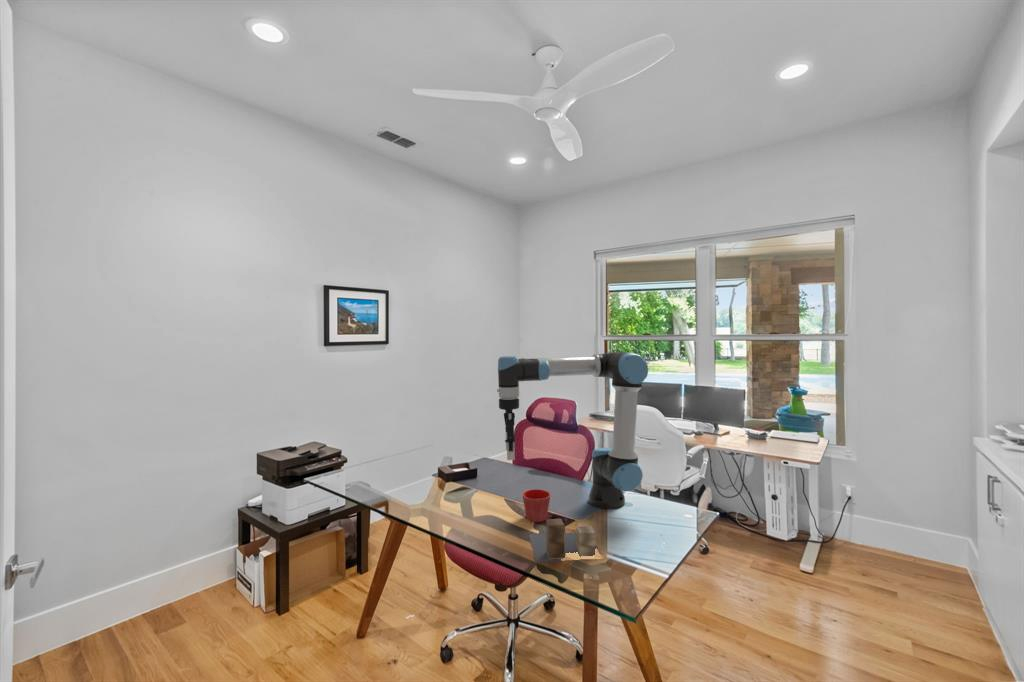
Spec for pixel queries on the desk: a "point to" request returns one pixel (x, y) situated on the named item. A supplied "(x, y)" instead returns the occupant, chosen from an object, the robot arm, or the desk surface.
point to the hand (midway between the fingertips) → (510, 454)
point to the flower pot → (536, 504)
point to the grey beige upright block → (585, 541)
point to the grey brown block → (555, 539)
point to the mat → (541, 546)
